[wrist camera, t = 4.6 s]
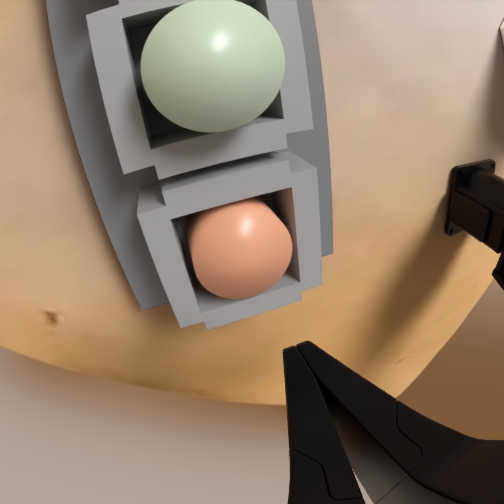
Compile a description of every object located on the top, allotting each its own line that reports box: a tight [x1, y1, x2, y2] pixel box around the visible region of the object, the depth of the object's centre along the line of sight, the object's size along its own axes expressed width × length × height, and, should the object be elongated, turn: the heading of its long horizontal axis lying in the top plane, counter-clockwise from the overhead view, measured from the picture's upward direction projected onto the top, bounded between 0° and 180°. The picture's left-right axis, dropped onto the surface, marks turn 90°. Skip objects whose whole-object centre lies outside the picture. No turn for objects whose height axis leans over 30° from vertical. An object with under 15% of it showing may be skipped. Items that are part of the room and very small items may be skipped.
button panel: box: [46, 0, 333, 330], centre depth 12 cm, size 12×24×5 cm, turn 9°
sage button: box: [141, 0, 285, 132], centre depth 9 cm, size 4×4×3 cm
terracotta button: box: [186, 195, 292, 299], centre depth 15 cm, size 4×4×3 cm
